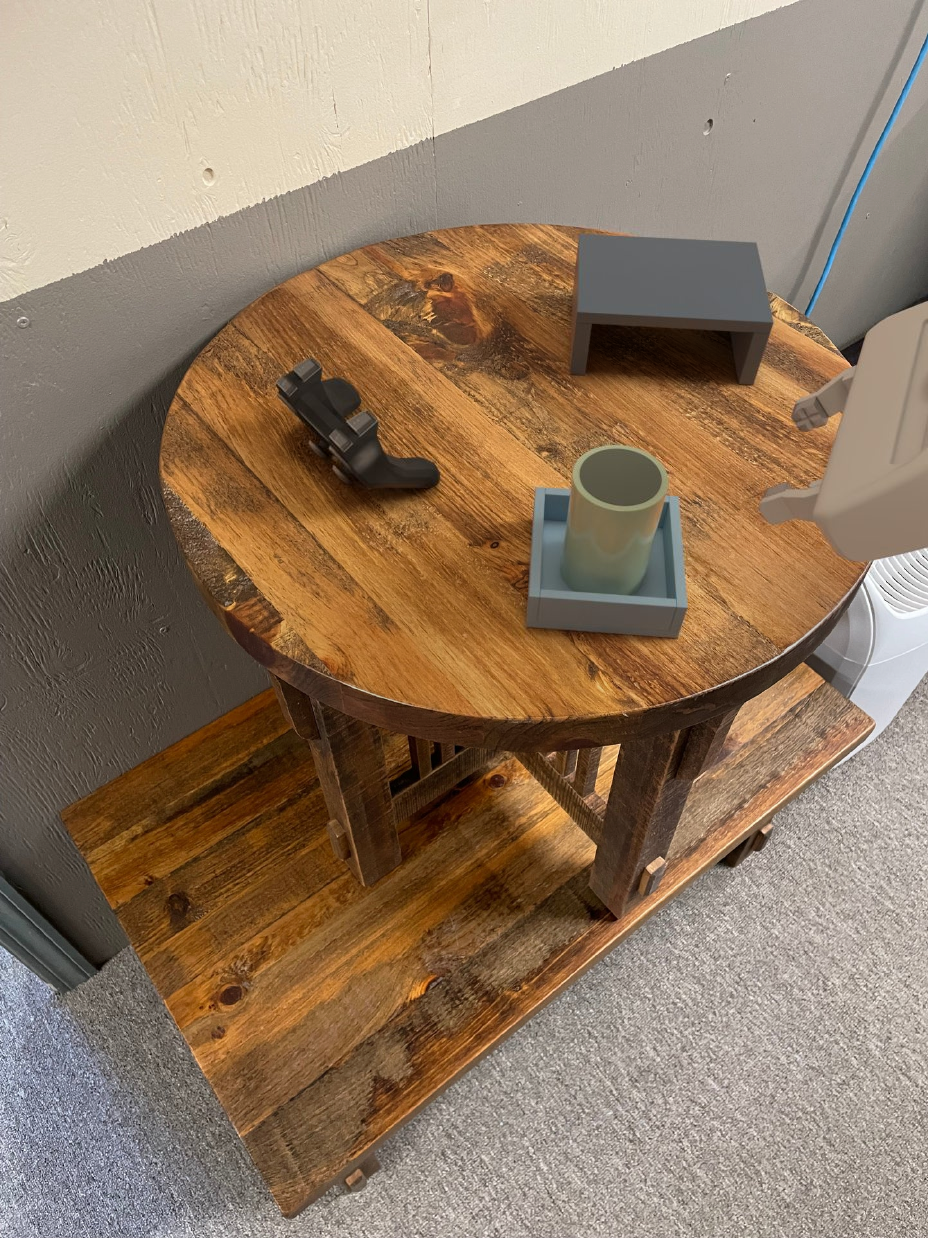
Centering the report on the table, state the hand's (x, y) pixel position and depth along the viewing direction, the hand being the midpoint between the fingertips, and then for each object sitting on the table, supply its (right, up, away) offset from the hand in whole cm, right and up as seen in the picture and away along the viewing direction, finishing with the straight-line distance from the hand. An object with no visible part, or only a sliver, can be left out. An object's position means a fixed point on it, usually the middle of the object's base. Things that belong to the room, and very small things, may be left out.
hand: (781, 460), depth 55 cm
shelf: (0, +19, +34) cm, 39 cm away
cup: (-9, -6, +14) cm, 18 cm away
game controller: (-30, +4, +23) cm, 38 cm away
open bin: (-9, -7, +14) cm, 18 cm away
